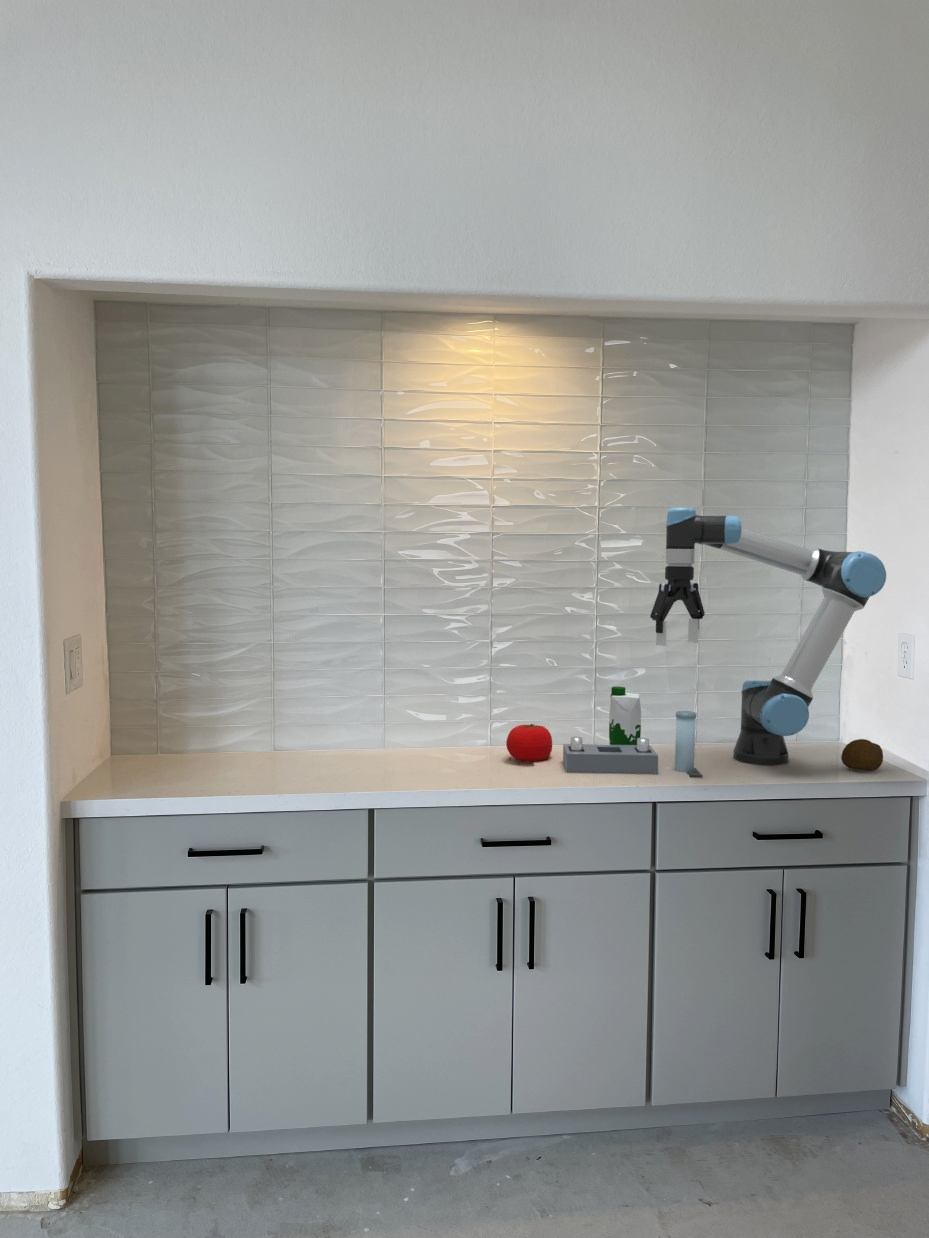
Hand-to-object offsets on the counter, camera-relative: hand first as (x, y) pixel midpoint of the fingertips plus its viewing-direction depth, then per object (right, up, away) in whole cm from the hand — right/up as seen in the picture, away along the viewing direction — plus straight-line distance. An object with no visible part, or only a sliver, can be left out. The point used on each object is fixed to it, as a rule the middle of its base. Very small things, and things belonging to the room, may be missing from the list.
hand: (677, 643), depth 244 cm
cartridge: (+2, -34, -1) cm, 34 cm away
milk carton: (-11, -33, +19) cm, 40 cm away
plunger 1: (-27, -32, 0) cm, 42 cm away
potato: (+53, -35, +5) cm, 64 cm away
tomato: (-39, -34, +12) cm, 53 cm away
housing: (-18, -35, 0) cm, 39 cm away
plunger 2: (-9, -33, 0) cm, 34 cm away
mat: (+2, -35, -1) cm, 35 cm away
